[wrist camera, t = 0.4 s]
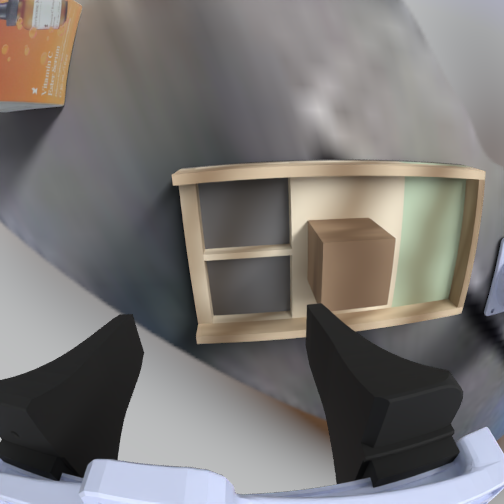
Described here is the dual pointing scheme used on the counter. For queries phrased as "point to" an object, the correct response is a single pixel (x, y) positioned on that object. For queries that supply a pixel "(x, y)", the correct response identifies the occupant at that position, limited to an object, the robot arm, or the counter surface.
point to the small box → (35, 52)
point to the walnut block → (349, 263)
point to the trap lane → (296, 240)
